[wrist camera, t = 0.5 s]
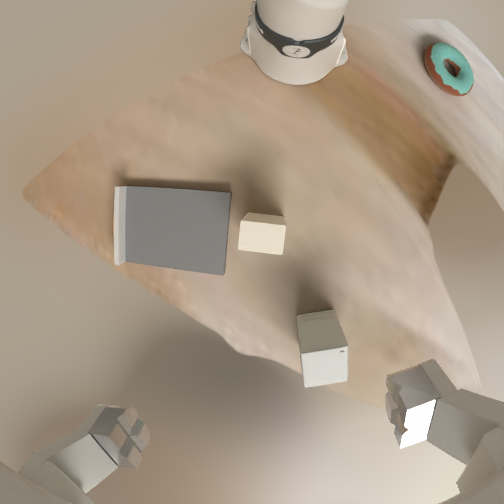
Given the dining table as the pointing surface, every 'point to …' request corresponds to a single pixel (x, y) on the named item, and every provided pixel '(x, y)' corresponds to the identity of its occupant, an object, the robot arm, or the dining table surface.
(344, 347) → the supplement box
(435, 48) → the donut
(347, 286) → the dining table surface
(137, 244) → the grey panel white edge
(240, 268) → the dining table surface
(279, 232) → the carton
